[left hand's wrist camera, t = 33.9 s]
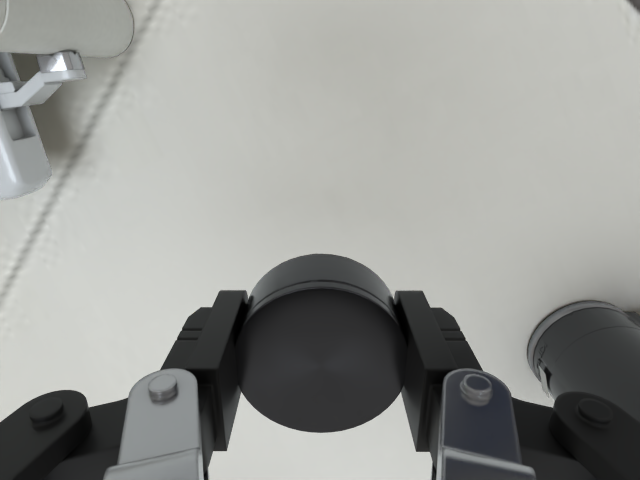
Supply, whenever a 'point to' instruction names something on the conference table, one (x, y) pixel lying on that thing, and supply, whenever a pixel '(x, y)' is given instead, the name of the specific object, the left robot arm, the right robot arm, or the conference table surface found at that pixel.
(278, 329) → the cap
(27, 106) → the right robot arm
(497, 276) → the conference table surface
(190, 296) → the conference table surface
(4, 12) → the bottle
